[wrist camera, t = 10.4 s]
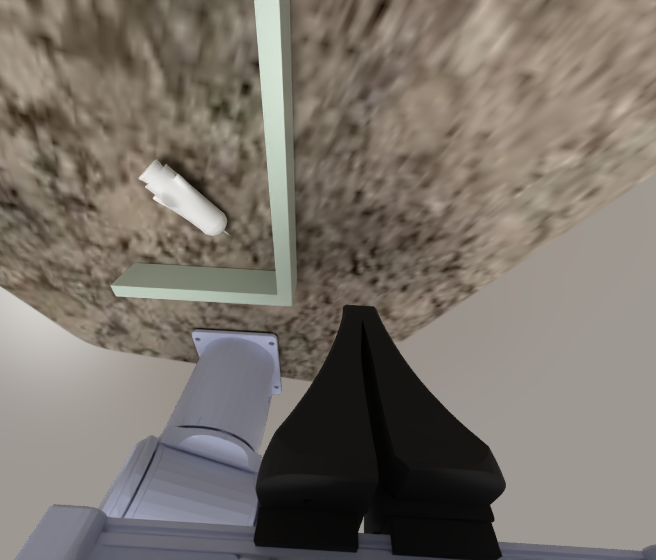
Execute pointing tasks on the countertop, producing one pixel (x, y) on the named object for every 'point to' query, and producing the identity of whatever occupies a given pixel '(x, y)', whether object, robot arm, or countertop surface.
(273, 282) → the light green u-shaped bracket
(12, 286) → the countertop surface
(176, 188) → the small white plastic part
